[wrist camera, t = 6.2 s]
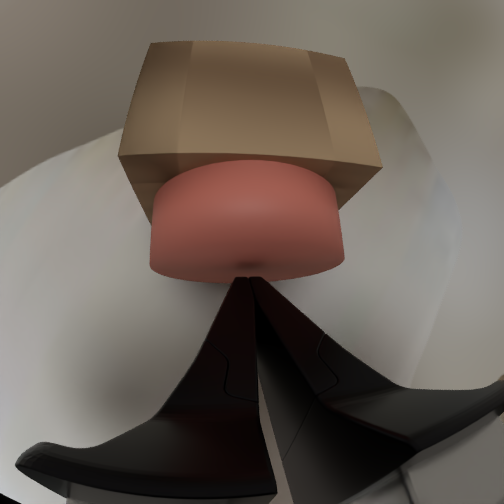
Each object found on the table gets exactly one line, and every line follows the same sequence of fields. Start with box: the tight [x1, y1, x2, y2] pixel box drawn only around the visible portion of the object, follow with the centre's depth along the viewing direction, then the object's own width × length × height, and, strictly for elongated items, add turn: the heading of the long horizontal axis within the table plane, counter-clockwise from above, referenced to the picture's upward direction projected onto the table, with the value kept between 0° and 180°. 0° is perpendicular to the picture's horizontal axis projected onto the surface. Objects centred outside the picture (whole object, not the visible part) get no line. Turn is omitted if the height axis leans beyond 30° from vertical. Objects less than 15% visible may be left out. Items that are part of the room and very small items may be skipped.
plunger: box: [150, 160, 344, 283], centre depth 10 cm, size 8×6×6 cm
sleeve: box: [118, 41, 383, 226], centre depth 13 cm, size 5×7×11 cm
